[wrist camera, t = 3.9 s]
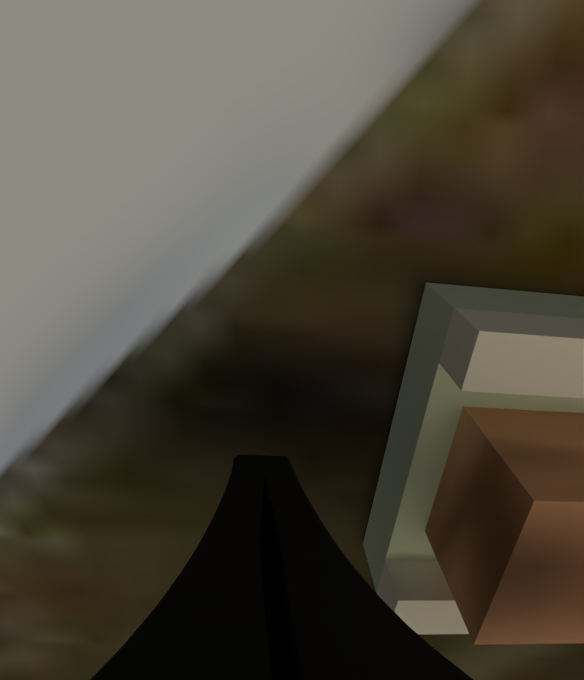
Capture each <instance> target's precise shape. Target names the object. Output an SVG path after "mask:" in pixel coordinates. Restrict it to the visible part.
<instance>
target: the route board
mask: <svg viewBox="0 0 584 680" xmlns="http://www.w3.org/2000/svg"><path fill="white" fill-rule="evenodd" d="M463 406H464V407H482V408H500V409H518V410H536V411H554V412H572V413H584V296H573V295H562V294H551V293H539V292H528V291H517V290H506V289H495V288H483V287H472V286H461V285H450V284H439V283H427V282H426V284H425V288H424V292H423V297H422V301H421V305H420V309H419V313H418V317H417V321H416V326H415V330H414V334H413V338H412V342H411V346H410V351H409V355H408V359H407V363H406V367H405V371H404V375H403V380H402V384H401V388H400V392H399V396H398V400H397V404H396V409H395V413H394V417H393V421H392V425H391V429H390V434H389V438H388V442H387V446H386V450H385V454H384V458H383V463H382V467H381V471H380V475H379V479H378V483H377V488H376V492H375V496H374V500H373V504H372V508H371V512H370V517H369V521H368V525H367V529H366V533H365V537H364V542H363V546H364V549H365V553H366V557H367V560H368V564H369V568H370V571H371V575H372V579H373V582H374V586H375V590H376V593H377V595H378V596H379V597H380V598H381V599H382V600H383V601H384V602H385V603H386V604H387V605H388V606H389V607H390V608H391V609H392V610H393V611H394V612H395V613H396V614H397V615H398V616H399V617H400V618H401V619H402V620H403V621H404V622H405V623H406V624H407V625H408V626H409V627H410V628H411V629H412V630H413V631H415V632H416V633H417V634H469V632H468V630H467V628H466V625H465V623H464V621H463V618H462V616H461V614H460V611H459V609H458V607H457V604H456V602H455V600H454V598H453V595H452V593H451V591H450V588H449V586H448V584H447V581H446V579H445V577H444V574H443V572H442V570H441V567H440V565H439V563H438V561H437V558H436V556H435V554H434V551H433V549H432V547H431V544H430V542H429V540H428V537H427V535H426V533H425V529H426V525H427V522H428V519H429V516H430V512H431V509H432V506H433V503H434V500H435V496H436V493H437V490H438V487H439V483H440V480H441V477H442V474H443V470H444V467H445V464H446V461H447V457H448V454H449V451H450V448H451V444H452V441H453V438H454V435H455V431H456V428H457V425H458V422H459V418H460V415H461V412H462V409H463Z"/></svg>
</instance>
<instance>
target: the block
mask: <svg viewBox="0 0 584 680" xmlns="http://www.w3.org/2000/svg"><path fill="white" fill-rule="evenodd" d="M425 533H426V535H427V537H428V540H429V542H430V544H431V547H432V549H433V551H434V554H435V556H436V558H437V561H438V563H439V565H440V567H441V570H442V572H443V574H444V577H445V579H446V581H447V584H448V586H449V588H450V591H451V593H452V595H453V598H454V600H455V602H456V604H457V607H458V609H459V611H460V614H461V616H462V618H463V621H464V623H465V625H466V628H467V630H468V632H469V635H470V637H471V639H472V641H473V644H474V645H486V644H578V643H584V413H572V412H554V411H536V410H518V409H500V408H482V407H464V406H463V409H462V412H461V415H460V418H459V422H458V425H457V428H456V431H455V435H454V438H453V441H452V444H451V448H450V451H449V454H448V457H447V461H446V464H445V467H444V470H443V474H442V477H441V480H440V483H439V487H438V490H437V493H436V496H435V500H434V503H433V506H432V509H431V512H430V516H429V519H428V522H427V525H426V529H425Z"/></svg>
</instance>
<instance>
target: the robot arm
mask: <svg viewBox="0 0 584 680" xmlns="http://www.w3.org/2000/svg"><path fill="white" fill-rule="evenodd" d="M91 680H473V679H472V678H470V677H469V676H468V675H467V674H465V673H464V672H463V671H461V670H460V669H459V668H458V667H456V666H455V665H454V664H453V663H451V662H450V661H449V660H448V659H446V658H445V657H444V656H443V655H441V654H440V653H439V652H438V651H436V650H435V649H434V648H433V647H431V646H430V645H429V644H428V643H427V642H426V641H425V640H423V639H422V638H421V637H420V636H419V635H418V634H417V633H416V632H415V631H413V630H412V629H411V628H410V627H409V626H408V625H407V624H406V623H405V622H404V621H403V620H402V619H401V618H400V617H399V616H398V615H397V614H396V613H395V612H394V611H393V610H392V609H391V608H390V607H389V606H388V605H387V604H386V603H385V602H384V601H383V600H382V599H381V598H380V597H379V596H378V595H377V594H376V592H375V591H374V590H373V589H372V588H371V587H370V586H369V584H368V583H367V582H366V581H365V580H364V579H363V578H362V576H361V575H360V574H359V573H358V571H357V570H356V569H355V568H354V567H353V565H352V564H351V563H350V562H349V560H348V559H347V558H346V556H345V555H344V554H343V552H342V551H341V550H340V548H339V547H338V545H337V544H336V543H335V541H334V540H333V538H332V537H331V535H330V534H329V532H328V531H327V529H326V528H325V526H324V525H323V523H322V522H321V520H320V518H319V517H318V515H317V513H316V512H315V510H314V508H313V507H312V505H311V503H310V502H309V500H308V498H307V496H306V494H305V492H304V491H303V489H302V487H301V485H300V483H299V481H298V479H297V477H296V475H295V472H294V470H293V468H292V466H291V463H290V460H289V459H288V458H287V457H285V456H259V455H238V456H236V457H235V458H234V462H233V468H232V472H231V476H230V479H229V482H228V485H227V487H226V490H225V493H224V495H223V497H222V499H221V502H220V504H219V506H218V509H217V511H216V513H215V515H214V517H213V519H212V521H211V523H210V525H209V526H208V528H207V530H206V532H205V534H204V536H203V538H202V540H201V541H200V543H199V545H198V546H197V548H196V550H195V551H194V553H193V555H192V556H191V558H190V559H189V561H188V563H187V564H186V566H185V567H184V569H183V570H182V572H181V573H180V575H179V576H178V577H177V579H176V580H175V582H174V583H173V584H172V586H171V587H170V589H169V590H168V591H167V593H166V594H165V596H164V597H163V598H162V600H161V601H160V602H159V603H158V605H157V606H156V607H155V609H154V610H153V611H152V612H151V613H150V615H149V616H148V617H147V618H146V619H145V621H144V622H143V623H142V624H141V625H140V626H139V628H138V629H137V630H136V631H135V632H134V634H133V635H132V636H131V637H130V638H129V640H128V641H127V642H126V643H125V644H124V645H123V646H122V647H121V648H120V650H119V651H118V652H117V653H116V654H115V655H114V656H113V657H112V658H111V659H110V660H109V661H108V662H107V663H106V664H105V665H104V666H103V667H102V668H101V669H100V670H99V671H98V672H97V673H96V674H95V675H94V676H93V678H92V679H91Z"/></svg>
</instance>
